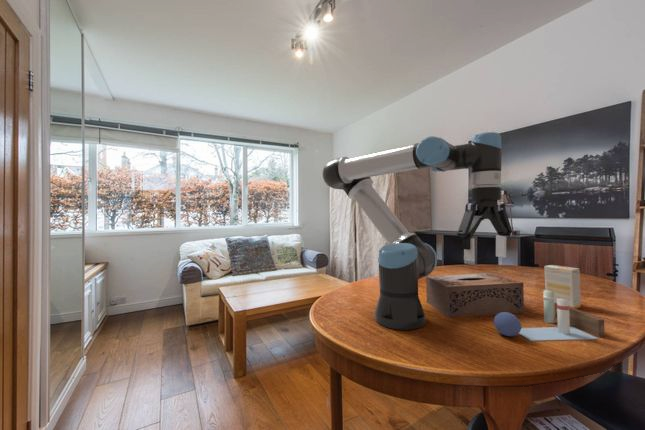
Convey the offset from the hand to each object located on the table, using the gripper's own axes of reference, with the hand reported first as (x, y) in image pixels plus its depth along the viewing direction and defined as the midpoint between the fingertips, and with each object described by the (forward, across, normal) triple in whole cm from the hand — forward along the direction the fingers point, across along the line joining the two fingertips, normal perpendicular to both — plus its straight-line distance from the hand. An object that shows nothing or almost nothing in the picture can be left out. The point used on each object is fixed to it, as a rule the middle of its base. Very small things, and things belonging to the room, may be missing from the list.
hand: (485, 258), depth 79 cm
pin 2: (+19, +12, -14) cm, 26 cm away
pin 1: (+19, +17, -8) cm, 26 cm away
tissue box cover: (+20, +8, +11) cm, 24 cm away
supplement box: (+19, +37, -1) cm, 41 cm away
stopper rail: (+18, +20, -13) cm, 30 cm away
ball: (+16, -2, -8) cm, 18 cm away
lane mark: (+19, +9, -12) cm, 24 cm away
